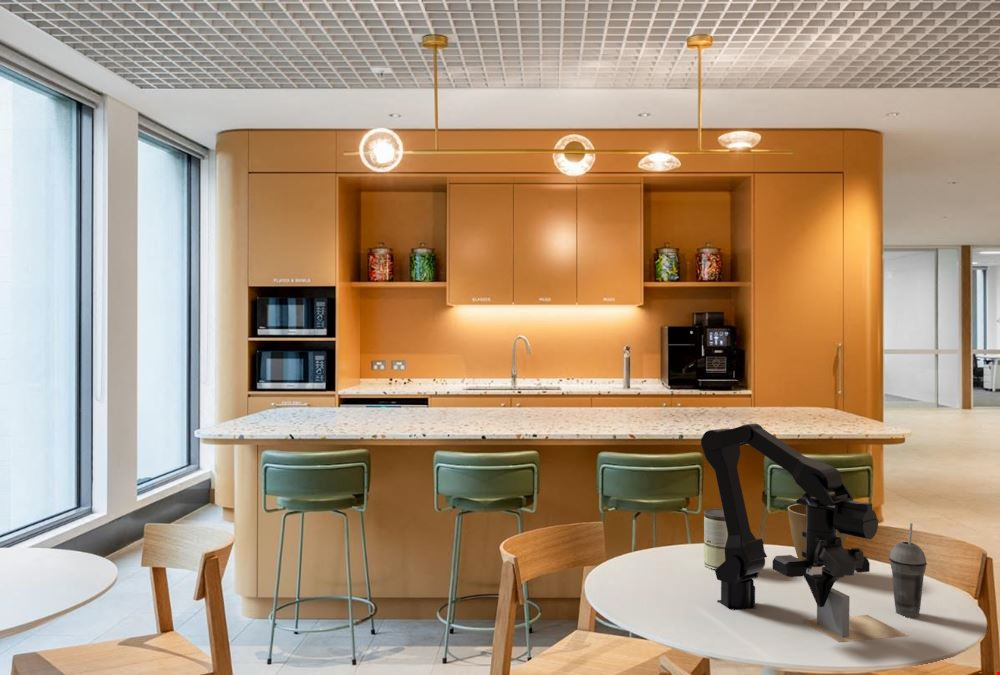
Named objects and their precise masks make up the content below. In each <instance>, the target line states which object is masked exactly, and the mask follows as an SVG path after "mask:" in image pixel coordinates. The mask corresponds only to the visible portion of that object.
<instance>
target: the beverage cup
mask: <svg viewBox="0 0 1000 675" xmlns="http://www.w3.org/2000/svg"><path fill="white" fill-rule="evenodd" d="M908 532H909V534H908V541H902V542H899V543H897V544H896V545H895V546H893V547H892V549H891V551H890V555H889V559H888V560H889V561H890V568H891V572H892V573H891V574H892V587H893V598H894V607H895V614H897V615H900V616H902V617H904V616H905V618H908V617H917V618H919V617H920V610H921V604H922V594H923V586H924V575H925V573H926V566H927V564H928V563H927V559H926V555H925V553H924V551H923V549H921V547H920V546H919V545H918V544H916V543H913V542H912V536H913V523H912V522H910V523H909V531H908ZM918 616H919V617H918Z"/></svg>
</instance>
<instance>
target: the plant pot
mask: <svg viewBox="0 0 1000 675" xmlns="http://www.w3.org/2000/svg"><path fill="white" fill-rule="evenodd" d="M787 514H788V522H789V528H790V532H791V539H792V543H793V547H794V551H795V553H796V558H798V559H800V560H806V558H805V557H803V556H802V551H806V538H805V537H803V536H802V531H806V505H802V504H797V503H795V504H791V505H789V506H787ZM837 536H839V537H841V540H842V547H843V548H844V547H845V543H846V539H847V536H848V535H846V534H841V533H839V531H838V530H837ZM813 564H814V563H813Z"/></svg>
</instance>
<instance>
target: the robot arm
mask: <svg viewBox="0 0 1000 675" xmlns="http://www.w3.org/2000/svg"><path fill="white" fill-rule="evenodd" d="M745 445H749V446H750V447H752V448H753V449H754V450H756V451H757V452H758V453H760V454H762V456H764V457H766V458H767V459H769V460H770V461H771V462H773V463H775V464H776V465H778V466H779V467H780V468H782V469H783V470H785V471H786V472H787V473H788V474H790V476H791V477H792V479H793V480H794V482H795V484H796V485H797V486H798V487H799V488H801V490H803V492H804V493H803V495H802V496H801V497H799V498H798V499H796V501H795V504H802V505H806V531H802V536H803V537H805V538H806V551H802V556H803V557H805V558H806V560H800V559H798V557H797V556H795V555H792V554H787V555H785V554H784V555H775V556H774V557H773V558H772V570H773V571H775V572H777V573H780V574H781V575H783V576H785V577H789V578H796V577H797V578H799V577H800V578H801V577H803V578H804V580H805V581H806V583H807V586H808V587H809V589H810V592H811V594H812V596H813V598H814V602H815V603H816V606H817V605H818V606H819V607H824V605H825V603H826V600H827V598H828V595H829V593H830V590H831V588H833V587H834V586H833V585H834V584H835V583H836V582H837V581H838V580H839V579H841V578H844V577H845V576H849V577H850V576H851V577H852V576H854V575H855V572H856V573H859V574H860V573H869V572H870V564H871V563H870V561H869V559H868V558H867V556H865V555H864V551H863V550H862V549H861V548H860V547H855V548H853V547H852V548H844V547H842V540H841V537H839V536H837V530H838V531H839V533H841V534H846V535H847V536H850V537H851V536H852V537H855V538H856V537H857V538H861V539H864V540H872V539H873V538H875V536H876V534H877V531H878V529H879V528H878V527H879V519H878V517H877V514H876V513H877V512H875V510H874V509H873V503H872V502H867V501H866V502H860V501H854V498H853V496H852V494H851V493H850V492H849V490H848V488H847V486H846V485H845V484H844V482H843V481H842V476H841V473H840V470H838V469H837V468H836V467H834V466H832V465H829V464H828V463H825V462H823V461H820V460H817V459H813V458H810V457H807V456H805V455H804V454H802V453H801V452H799V451H797V450H796V449H794V448H793V447H791V446H790V445H788V444H787V443H785V442H784V441H782V440H780V439H779V438H778V437H776V436H775V435H773V434H771V433H770V432H768V430H766V429H765V428H763V427H762V425H760V424H758V423H746V424H742V425H740V426H737V427H733V428H719V429H717V428H716V429H709V430H706V431H705V433H703V435H702V437H700V446H701V448H702V451H703V455H704V458H705V461H707V462H708V464H709V465H710V466H711V468H712V469H713V471H714V474H715V478H716V483H717V487H718V488H717V489H718V494H719V497H720V503H721V508H723V513H724V518H725V522H726V527H727V532H728V537H727V541H726V545H725V562H723V563H722V564H721V565H720V566H719V567H718V568H717V569H715V570H714V573H715V576H716V579H717V580H718V581H720V599H718V600H717V601H716V603H719V604H721V605H722V606H724V607H725V608H727V609H728V610H730V611H740V610H752V609H758V607H757V606H756V586H755V582H754V579H757V578H758V577H759V574H760V572H761V571H762V570H763V568H764V567H765V565H766V558H767V557H768V555H767V553H766V552H765V547H764V541H763V538H758V539H757V538H756V536H754V534H753V533H752V531H751V528H750V523H749V519H748V513H747V509H746V508H747V507H746V503H745V498H744V494H743V489H742V485H741V481H740V476H739V471H738V463H739V460H740V455H741V447H742V446H743V447H744V446H745ZM834 494H835V495H834ZM813 563H814V564H813Z"/></svg>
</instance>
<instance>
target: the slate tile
mask: <svg viewBox="0 0 1000 675" xmlns="http://www.w3.org/2000/svg"><path fill="white" fill-rule="evenodd" d="M850 599H851V598H850V595H848V594H846V593H843V592H841V591H839V590H837V589H836V588H833V587H832V588H831V590H830V593H829V595H828V598H827V600H826V603H825V605H824V607H819V606H818V605H817V604H816V619H817V623H818V624H819V625H821V626H823V627H825V628H827V629H828V630H830V631H832V632H834V633H835V634H837V635H839V636H841V637H849V616H850Z"/></svg>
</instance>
